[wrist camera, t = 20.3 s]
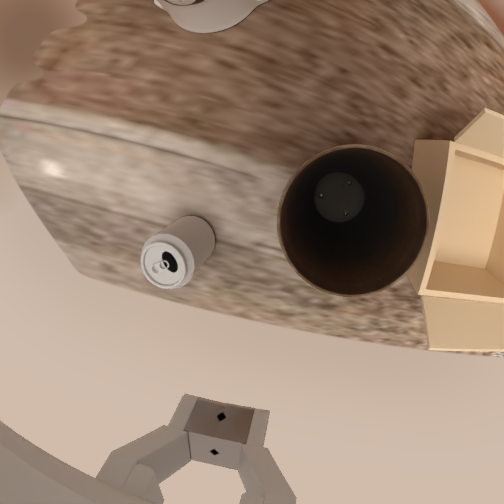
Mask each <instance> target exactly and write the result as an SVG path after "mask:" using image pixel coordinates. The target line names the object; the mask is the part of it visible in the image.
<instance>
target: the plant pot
mask: <svg viewBox="0 0 504 504" xmlns="http://www.w3.org/2000/svg"><path fill="white" fill-rule="evenodd" d="M347 181H350V182H351V184H350V185H349V184H348V183H347ZM320 194H323V197H322V198H321V197H319V195H320ZM346 212H347V215H345V214H344V213H346ZM429 223H430V216H429V206H428V202H427V198H426V195H425V192H424V189H423V187H422V185H421V183H420V181H419V180H418V178H417V177H416V175H415V174H414V172H413V171H412V170H411V169H410V168H409V167H408V166H407V165H406V164H405V163H404V162H403V161H402V160H400V159H399V158H398V157H396V156H395V155H393V154H391V153H389V152H387V151H385V150H383V149H380V148H377V147H374V146H370V145H363V144H347V145H340V146H336V147H332V148H329V149H327V150H324V151H322V152H320V153H318V154H316V155H315V156H313V157H312V158H310V159H309V160H308V161H306V162H305V163H304V164H303V165H302V166H301V167H300V168H299V169H298V170H297V171H296V172H295V173H294V175H293V176H292V177H291V179H290V180H289V182H288V183H287V185H286V187H285V189H284V191H283V194H282V196H281V199H280V203H279V207H278V214H277V230H278V237H279V242H280V245H281V248H282V251H283V253H284V255H285V257H286V259H287V261H288V262H289V264H290V265H291V267H292V268H293V269H294V271H295V272H296V273H297V274H298V275H299V276H300V277H301V278H302V279H303V280H305V281H306V282H307V283H309V284H310V285H312V286H313V287H315V288H317V289H319V290H321V291H324V292H326V293H329V294H333V295H337V296H343V297H361V296H366V295H371V294H374V293H377V292H380V291H382V290H385V289H387V288H388V287H390V286H392V285H394V284H395V283H397V282H398V281H399V280H400V279H402V278H403V277H404V276H405V275H406V274H407V273H408V272H409V271H410V270H411V269H412V267H413V266H414V265H415V263H416V262H417V261H418V259H419V257H420V255H421V253H422V251H423V249H424V246H425V244H426V241H427V237H428V232H429Z"/></svg>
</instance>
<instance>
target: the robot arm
mask: <svg viewBox="0 0 504 504" xmlns="http://www.w3.org/2000/svg"><path fill="white" fill-rule="evenodd" d="M267 1H269V0H154V3H155V4H156V5H157V6H158V7H159V8H161V9H163V10H165V11H167V12H168V13H169V15H170V16H171V18H172V19H173V21H174V22H175V23H176V24H177V25H179V26H180V27H182V28H183V29H185V30H188V31H191V32H196V33H212V32H217V31H221V30H224V29H227V28H230V27H232V26H234V25H236V24H237V23H239V22H240V21H242V20H243V19H244V18H246V17H247V16H248V15H249V14H250V13H251V12H252V11H253V9H254V8H256V7H257V6H258V5H260V4H262V3H264V2H267ZM269 413H270V411H269V410H262V409H256V408H251V407H245V406H239V405H234V404H228V403H227V404H226V403H221V402H217V401H213V400H209V399H205V398H201V397H196V396H193V395H189V394H185V395H184V396H183V397H182V399H181V401H180V403H179V405H178V407H177V409H176V411H175V413H174V415H173V417H172V419H171V421H170V423H169V425H168V426H165V425H163V426H161V427H159V428H158V429H156V430H154V431H152V432H150V433H148V434H146V435H144V436H142V437H141V438H138V439H136V440H134V441H132V442H130V443H128V444H126V445H124V446H122V447H120V448H118V449H116V450H114V451H112V452H111V453H110V455H109V457H108V458H107V460H106V462H105V463H104V465H103V467H102V468H101V470H100V472H99V473H98V475H97V476H96V478H94V477H91V476H89V475H87V474H85V473H83V472H81V471H80V470H78V469H76V468H74V467H72V466H70V465H68V464H66V463H64V462H63V461H61V460H59V459H57V458H56V457H54V456H52V455H50V454H49V453H47V452H45V451H44V450H42V449H41V448H39V447H37V446H35V445H34V444H33V443H31V442H30V441H28V440H26V439H25V438H24V437H22V436H21V435H19V434H17V433H16V432H15V431H13V430H12V429H11V428H9V427H8V426H6V425H5V424H4V423H2V422H1V421H0V504H163V502H164V498H163V496H162V493H161V490H160V487H159V483H161V482H162V481H164V480H165V479H166V478H168V477H169V476H171V475H172V474H173V473H175V472H176V471H177V470H179V469H180V468H182V467H183V466H185V465H186V464H187V463H188V462H190V461H191V460H195V461H200V462H204V463H209V464H213V465H218V466H222V467H226V468H230V469H235V470H238V472H239V475H240V477H241V480H242V482H243V484H244V487H245V489H246V493H244V494H242V496H241V500H240V504H296V496H295V495H294V493H293V491H292V490H291V488H290V487H289V485H288V483H287V481H286V480H285V478H284V476H283V475H282V473H281V471H280V470H279V468H278V466H277V464H276V462H275V461H274V459H273V457H272V455H271V454H270V452H269V450H268V448H264V447H263V445H264V440H265V435H266V430H267V424H268V419H269Z"/></svg>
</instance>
